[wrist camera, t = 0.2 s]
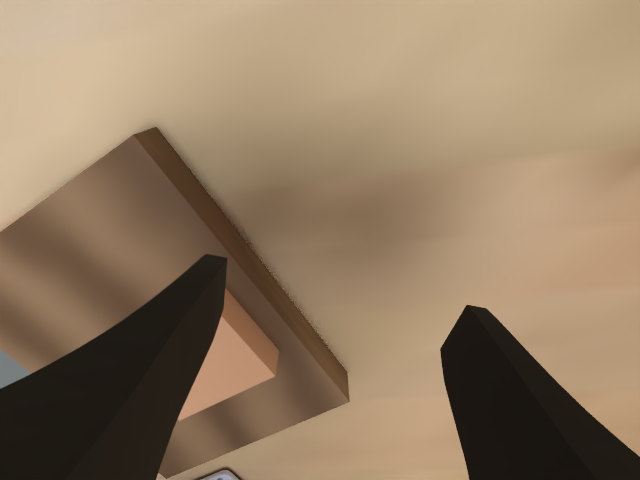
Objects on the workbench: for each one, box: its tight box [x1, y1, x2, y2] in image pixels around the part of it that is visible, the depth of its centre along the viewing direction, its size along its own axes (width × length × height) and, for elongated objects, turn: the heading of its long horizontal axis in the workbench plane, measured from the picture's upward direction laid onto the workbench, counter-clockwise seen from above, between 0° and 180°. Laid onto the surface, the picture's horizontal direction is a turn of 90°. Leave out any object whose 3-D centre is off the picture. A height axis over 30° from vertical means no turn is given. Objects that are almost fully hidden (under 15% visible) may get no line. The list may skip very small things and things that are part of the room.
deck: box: [0, 127, 350, 479], centre depth 23 cm, size 16×20×2 cm
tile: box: [178, 288, 279, 421], centre depth 21 cm, size 7×6×2 cm
